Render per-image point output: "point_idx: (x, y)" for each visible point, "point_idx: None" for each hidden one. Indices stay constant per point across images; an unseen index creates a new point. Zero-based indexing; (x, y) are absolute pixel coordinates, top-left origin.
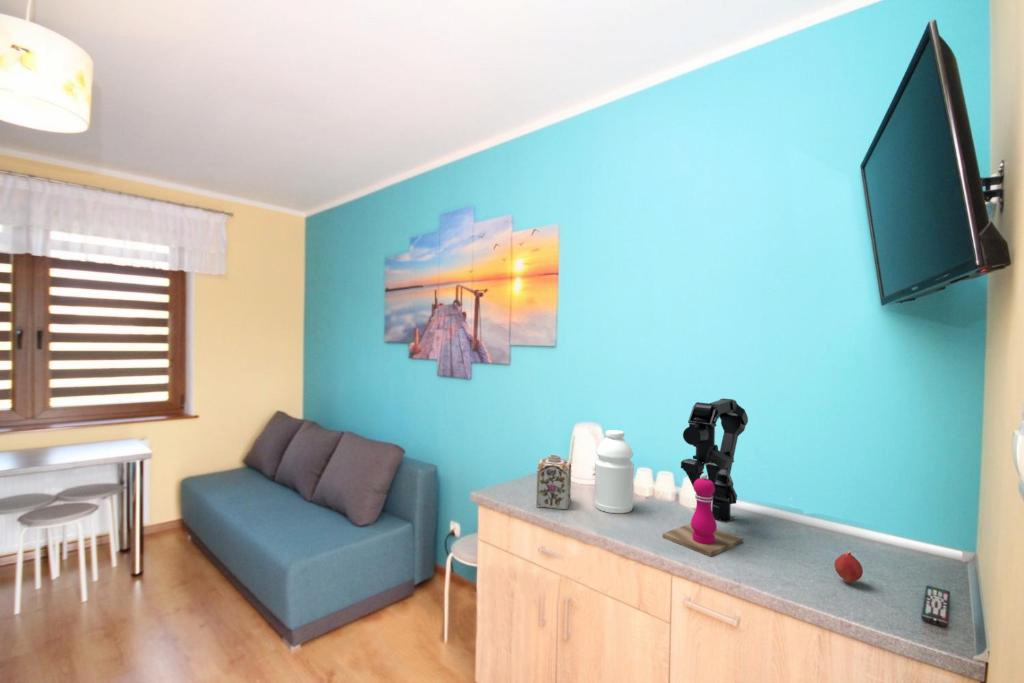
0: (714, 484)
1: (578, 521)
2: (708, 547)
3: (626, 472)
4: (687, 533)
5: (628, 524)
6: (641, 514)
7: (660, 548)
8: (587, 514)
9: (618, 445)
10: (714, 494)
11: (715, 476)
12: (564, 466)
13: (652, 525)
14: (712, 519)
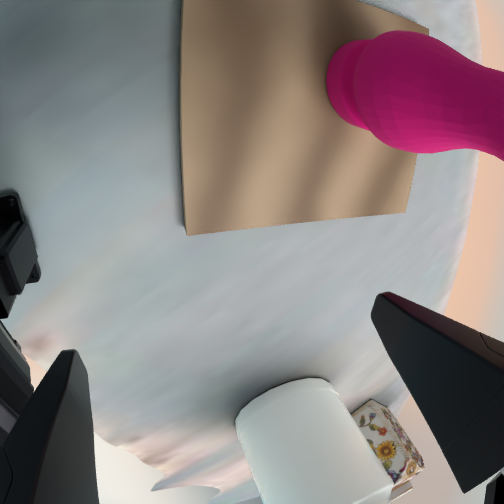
0: (56, 365)
1: None
2: None
3: (358, 482)
4: (352, 161)
5: (368, 317)
6: (269, 366)
7: (453, 161)
8: (368, 379)
9: None
10: (2, 327)
11: (44, 462)
12: (411, 472)
13: (330, 291)
14: (450, 47)
